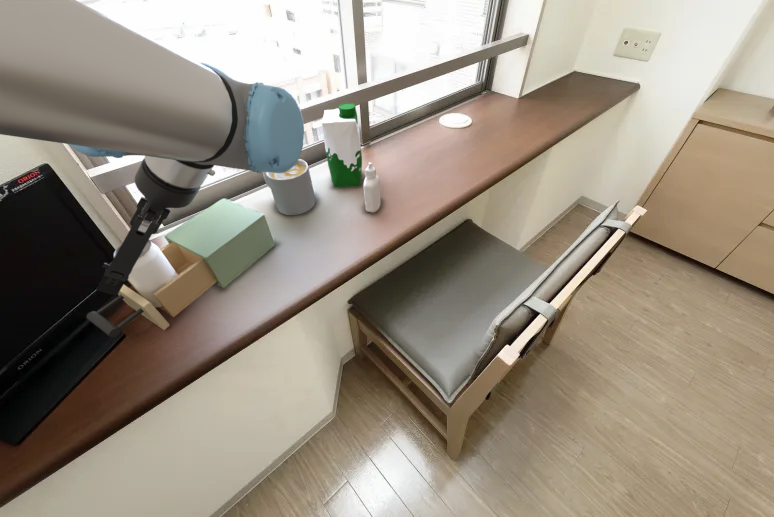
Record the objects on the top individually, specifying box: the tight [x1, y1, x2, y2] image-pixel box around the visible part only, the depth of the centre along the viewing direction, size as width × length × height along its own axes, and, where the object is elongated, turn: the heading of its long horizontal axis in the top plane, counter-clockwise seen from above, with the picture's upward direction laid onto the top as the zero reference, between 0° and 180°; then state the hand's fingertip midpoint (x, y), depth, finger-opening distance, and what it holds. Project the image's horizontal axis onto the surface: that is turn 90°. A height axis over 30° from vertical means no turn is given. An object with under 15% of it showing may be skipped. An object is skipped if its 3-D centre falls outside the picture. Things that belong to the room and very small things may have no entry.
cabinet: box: [163, 197, 276, 289], centre depth 71 cm, size 15×13×9 cm
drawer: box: [86, 242, 218, 338], centre depth 62 cm, size 19×11×7 cm, turn 149°
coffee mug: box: [262, 158, 317, 216], centre depth 85 cm, size 13×10×10 cm
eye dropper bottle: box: [363, 162, 382, 213], centre depth 81 cm, size 4×6×12 cm
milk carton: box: [321, 102, 363, 188], centre depth 87 cm, size 9×9×20 cm
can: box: [113, 239, 178, 308], centre depth 60 cm, size 6×6×12 cm
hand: (124, 260), depth 57 cm, fingers open, 13 cm apart
